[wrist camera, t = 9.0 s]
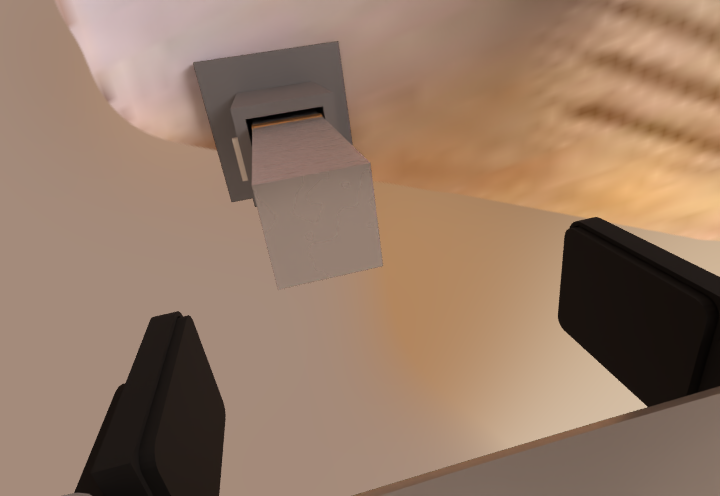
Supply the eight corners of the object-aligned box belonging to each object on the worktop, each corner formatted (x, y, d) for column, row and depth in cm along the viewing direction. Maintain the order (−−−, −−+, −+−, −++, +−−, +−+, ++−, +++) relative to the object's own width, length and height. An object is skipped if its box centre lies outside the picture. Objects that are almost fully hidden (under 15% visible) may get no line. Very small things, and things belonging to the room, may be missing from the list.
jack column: (310, 104, 35) (371, 161, 17) (320, 161, 37) (384, 266, 19) (251, 114, 34) (250, 184, 16) (265, 172, 36) (276, 291, 18)
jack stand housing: (335, 41, 41) (369, 38, 29) (354, 174, 47) (389, 217, 35) (194, 62, 39) (169, 67, 27) (232, 197, 45) (224, 251, 33)
